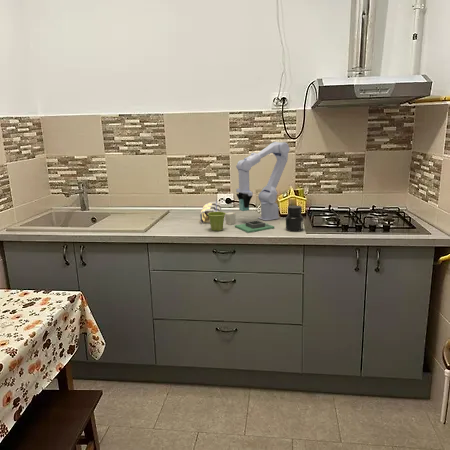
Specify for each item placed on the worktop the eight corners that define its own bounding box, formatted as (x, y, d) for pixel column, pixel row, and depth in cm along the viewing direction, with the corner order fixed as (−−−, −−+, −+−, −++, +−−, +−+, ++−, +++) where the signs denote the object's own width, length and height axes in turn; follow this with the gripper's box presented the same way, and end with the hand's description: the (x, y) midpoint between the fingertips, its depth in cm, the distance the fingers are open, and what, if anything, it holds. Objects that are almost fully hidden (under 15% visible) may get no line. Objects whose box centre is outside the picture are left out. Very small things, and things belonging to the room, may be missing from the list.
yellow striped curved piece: (218, 224, 237) (218, 201, 234) (200, 224, 238) (199, 201, 235) (221, 214, 262) (220, 193, 258) (204, 214, 262) (203, 193, 259)
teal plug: (245, 208, 238) (245, 198, 237) (249, 210, 235) (248, 199, 233) (238, 209, 236) (238, 199, 235) (242, 211, 233) (241, 200, 231)
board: (259, 223, 236) (259, 217, 235) (274, 228, 224) (274, 222, 223) (234, 227, 228) (234, 221, 228) (248, 232, 216) (248, 227, 216)
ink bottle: (306, 231, 217) (307, 207, 214) (290, 232, 214) (290, 209, 211) (298, 226, 226) (298, 204, 223) (282, 228, 223) (282, 205, 220)
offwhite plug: (230, 222, 239) (230, 212, 238) (235, 223, 236) (235, 213, 235) (224, 224, 236) (224, 213, 235) (229, 225, 233) (229, 214, 232)
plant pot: (229, 229, 224) (229, 213, 222) (216, 232, 218) (215, 216, 216) (218, 226, 231) (217, 210, 229) (204, 229, 225) (203, 213, 223)
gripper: (231, 181, 237) (231, 205, 240) (244, 184, 224) (244, 210, 227) (242, 180, 240) (242, 204, 243) (255, 183, 227) (256, 208, 230)
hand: (244, 206), depth 235 cm, fingers closed on teal plug, 4 cm apart
